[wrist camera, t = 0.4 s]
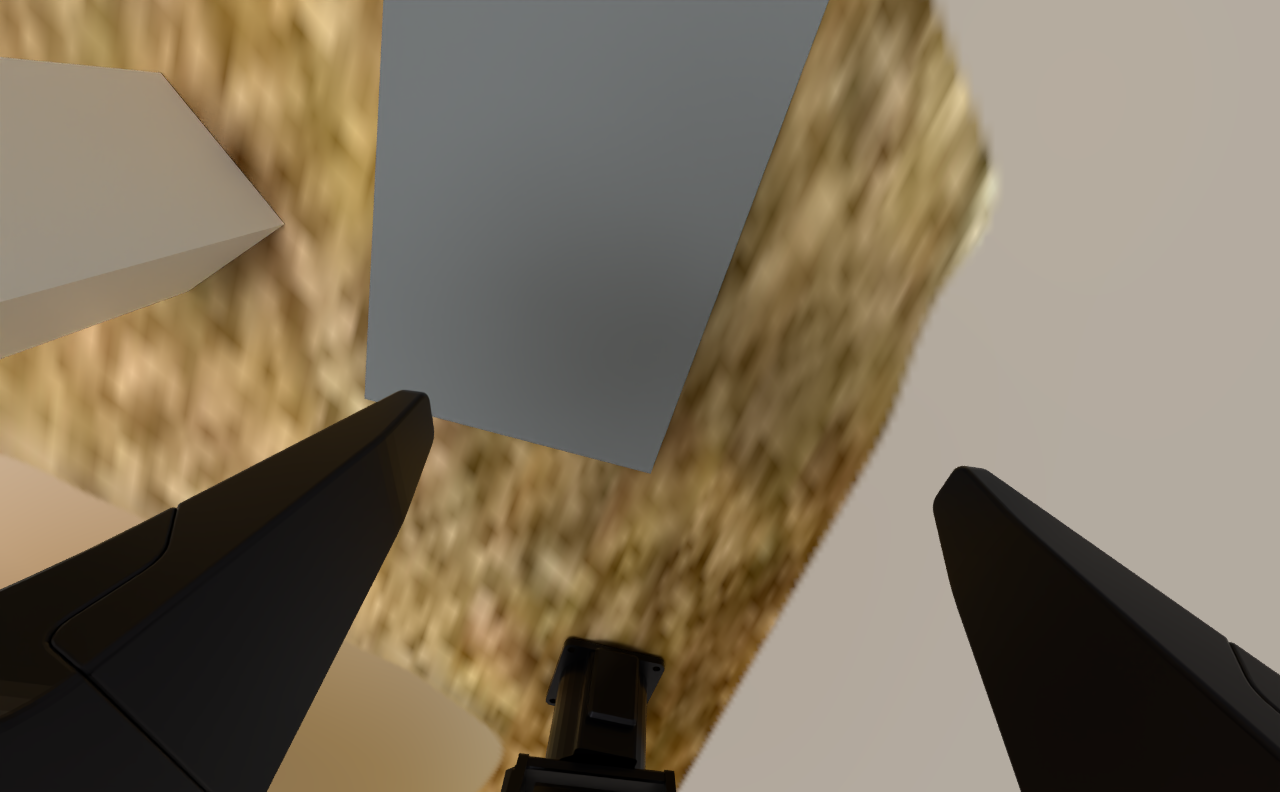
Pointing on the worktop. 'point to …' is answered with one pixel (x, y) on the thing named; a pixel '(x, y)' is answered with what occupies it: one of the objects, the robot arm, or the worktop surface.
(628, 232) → the mat
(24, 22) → the worktop surface
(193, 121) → the white rectangular block
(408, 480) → the robot arm
